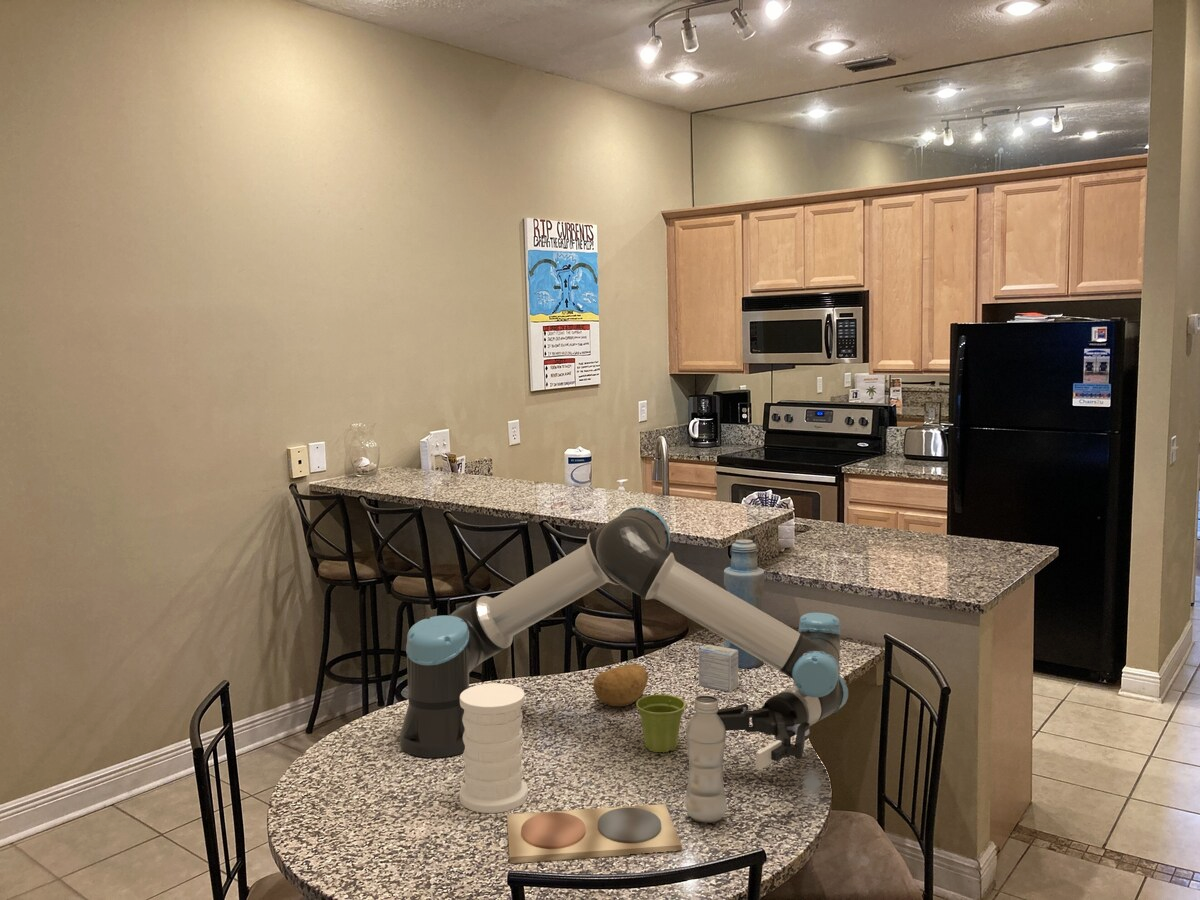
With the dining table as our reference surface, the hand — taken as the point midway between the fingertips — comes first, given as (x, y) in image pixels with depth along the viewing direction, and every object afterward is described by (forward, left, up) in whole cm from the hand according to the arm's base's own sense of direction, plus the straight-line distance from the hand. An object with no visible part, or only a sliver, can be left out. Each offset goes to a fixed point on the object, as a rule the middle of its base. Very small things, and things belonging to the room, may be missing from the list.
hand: (722, 749), depth 155 cm
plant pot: (-5, +26, -11) cm, 29 cm away
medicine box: (+14, +56, -11) cm, 59 cm away
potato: (-9, +49, -11) cm, 51 cm away
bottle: (+24, +71, -11) cm, 76 cm away
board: (-22, -5, -11) cm, 25 cm away
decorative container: (-37, +10, -11) cm, 40 cm away
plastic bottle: (-3, -2, -11) cm, 11 cm away
